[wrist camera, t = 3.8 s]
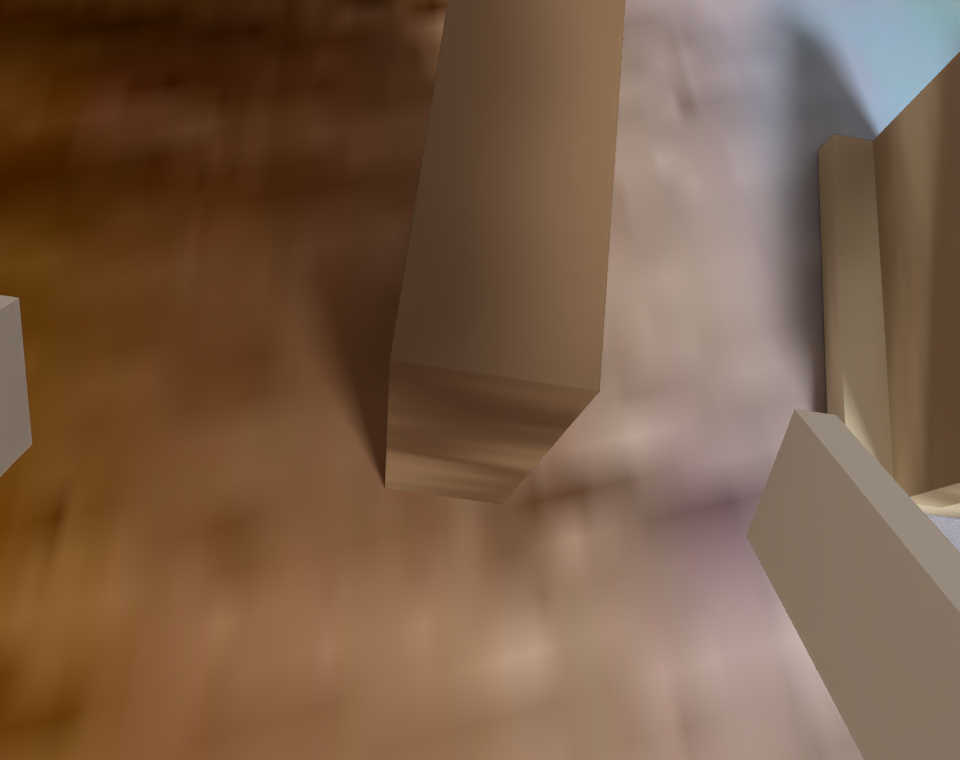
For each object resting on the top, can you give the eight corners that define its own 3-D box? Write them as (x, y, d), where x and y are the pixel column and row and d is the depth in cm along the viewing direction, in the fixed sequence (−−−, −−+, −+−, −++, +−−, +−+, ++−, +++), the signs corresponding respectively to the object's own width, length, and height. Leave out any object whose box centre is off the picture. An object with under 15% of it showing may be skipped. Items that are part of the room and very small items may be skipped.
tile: (529, 238, 26) (626, -25, 16) (502, 503, 23) (599, 391, 13) (426, 221, 26) (457, -58, 16) (384, 487, 23) (389, 360, 13)
